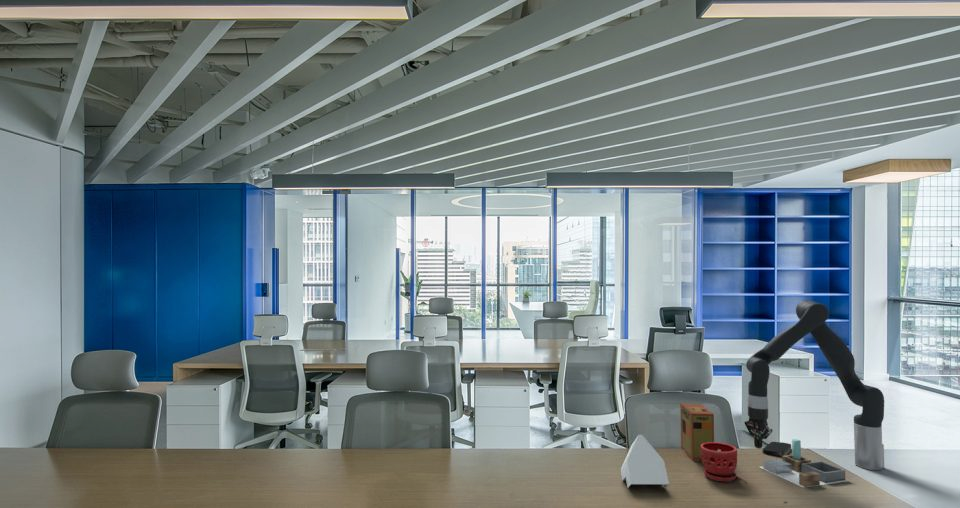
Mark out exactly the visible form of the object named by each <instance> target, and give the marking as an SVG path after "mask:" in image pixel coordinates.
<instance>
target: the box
mask: <svg viewBox="0 0 960 508" xmlns="http://www.w3.org/2000/svg"><path fill="white" fill-rule="evenodd" d="M679 413H680V448H681V449H682V450H683V451H684V450H685V451H684V452H685V454H686V455H687V456H688V457H689V458H690V460H691V461H692V460H693V461H694V462H702V457H701V444H703V443H708V442H715V422H714V421H715V416H714V413H713V412H712V411H710V410H709V409H708V407H705V406H704V405H703V404H701V403H680V411H679ZM712 451H713V450H712ZM693 461H692V462H693Z"/></svg>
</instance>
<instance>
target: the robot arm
mask: <svg viewBox="0 0 960 508" xmlns="http://www.w3.org/2000/svg"><path fill="white" fill-rule="evenodd" d="M795 315H796V317H797V318H798V321H797V322H796V323H795V324H793V325H792V326H791V327H788V328H787V329H785V330H783V331H782V332H779V333H778V334H777V335H775V336H774V337H772V338H771V340H769V342H768V343H766V344H765V345H764V347H762V348H761V349H760V350H758V351H756V352H755V353H754V354H752V355H751V356H750V357H749V358H748V360H747V361H746V363H745V364H746V365H745V366H746V369H747V371H748V372H750V373H751V376H750V381H748V386H747V387H748V389H747V390H748V391H747V392H748V393H747V394H748V396H747V416H748V420H746V421H744V425H745V428H746V429H747V431H748V433H749V436H752V437H753V439H754V440H753V444H754V448H756V449H763V440H767V439H768V437H769V436H770V435H771V434H772V433H773V429H772V428H770V427H769V426H768V419H769V397H768V383H769V378H770V370H771V369H770V366H769V365H770V364H771V363H772V362H775V361H778V360H780V359H781V357H782V356H784V355H785V354H786V352H788V351H789V350H790V349H791V348H792V347H793V346H795V344H797V343H798V342H799V341H800V340H802V339H803V338H805V337H806V336H808V335H809V334H810V335H811V336H812V338H813V339H814V341H815V343H816V344H817V346H818V347H819V349H820V350H821V352H822V354H823V356H824V358H825V359H826V361H827V363H828V364H829V366H831V368H832V369H833V372H834V373H835V374H836V376H837V378H838V379H839V381H840V383H841V385H842V387H843V390H844V391H845V394H846V395H847V398H848V399H849V400H850V401H851V403H853V404H854V405H856V406H859V407H862V411H861V413H860V414H855V415H854V416H853V436H854V437H853V438H854V439H853V443H854V445H853V446H854V465H855V464H856V466H857V467H859V468H862V469H864V470H870V471H882V470H883V469H884V468H885V446H884V444H883V430H882V428H883V426H882V424H883V421H884V418H885V396H884V393H883V392H882V391H881V389H879V388H878V387H876V386H871V385H867V384H865V383H863V382H862V381H861V380H860V378H859V376H858V375H857V374H856V371H855V365H856V364H855V358H854V357H855V356H854V355H853V353H852V351H851V350H850V348H849V347H848V345H847V344H846V342H845V341H844V340H843V339H842V338H841V337H840V336H839V335H838V334H837V333H835V331H833V330H832V329H831V328H830V326H828V324H827V323H826V321H827V320H828V318H829V316H830V311H829V309H828V307H827V306H826V305H825V304H823V303H820V302H817V301H813V300H808V299H807V300H801V301H799V302H798V303H797V304H796V307H795Z"/></svg>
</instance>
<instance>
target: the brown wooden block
mask: <svg viewBox="0 0 960 508" xmlns="http://www.w3.org/2000/svg"><path fill="white" fill-rule="evenodd" d="M799 484H800V485H802V486H804V487H803V488H809V487H808V486H810V487H817V486H816V485H818V486H821V485H820V474H818V473H816V472H807V473H799Z"/></svg>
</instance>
